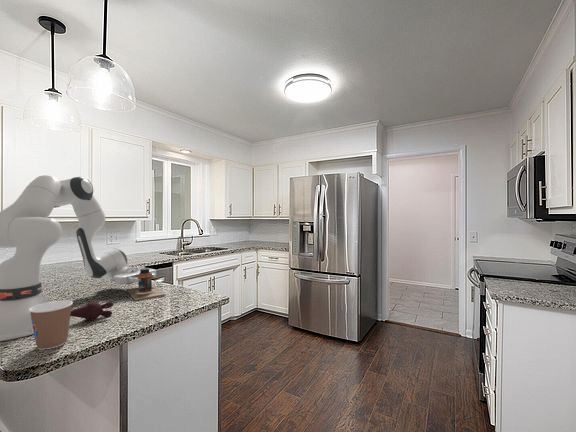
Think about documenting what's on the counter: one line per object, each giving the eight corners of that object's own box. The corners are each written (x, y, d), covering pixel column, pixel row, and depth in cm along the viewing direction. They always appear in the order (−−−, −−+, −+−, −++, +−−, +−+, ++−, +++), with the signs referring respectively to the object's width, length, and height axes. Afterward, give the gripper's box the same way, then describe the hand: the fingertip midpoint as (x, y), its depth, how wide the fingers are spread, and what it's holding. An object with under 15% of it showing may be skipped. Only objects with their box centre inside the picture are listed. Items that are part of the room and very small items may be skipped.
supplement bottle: (153, 289, 145) (153, 267, 144) (149, 292, 139) (149, 269, 138) (141, 290, 144) (140, 267, 143) (136, 293, 138) (136, 270, 138)
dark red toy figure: (64, 310, 98) (114, 305, 107) (65, 300, 104) (113, 296, 113) (62, 328, 99) (112, 321, 108) (63, 317, 105) (111, 311, 114)
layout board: (164, 295, 136) (164, 293, 136) (134, 301, 128) (134, 299, 128) (154, 286, 154) (154, 284, 154) (127, 290, 146) (127, 289, 146)
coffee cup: (37, 341, 89) (36, 303, 89) (77, 334, 93) (76, 298, 93) (23, 356, 79) (22, 313, 79) (68, 348, 84) (67, 308, 84)
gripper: (107, 273, 137) (126, 275, 131) (145, 265, 156) (163, 267, 150) (108, 286, 137) (126, 289, 131) (145, 277, 156) (163, 279, 150)
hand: (146, 277), depth 141 cm, fingers open, 8 cm apart
